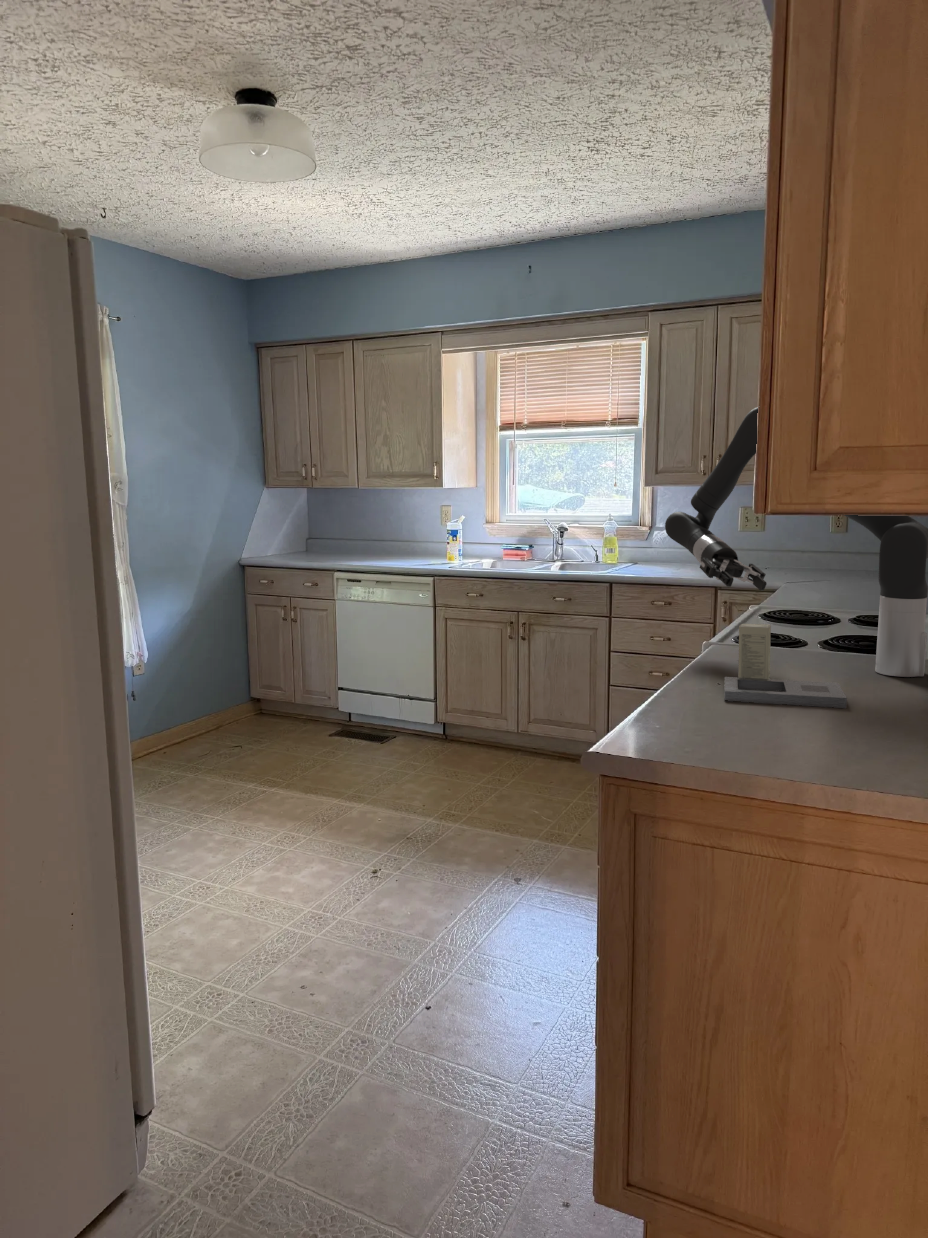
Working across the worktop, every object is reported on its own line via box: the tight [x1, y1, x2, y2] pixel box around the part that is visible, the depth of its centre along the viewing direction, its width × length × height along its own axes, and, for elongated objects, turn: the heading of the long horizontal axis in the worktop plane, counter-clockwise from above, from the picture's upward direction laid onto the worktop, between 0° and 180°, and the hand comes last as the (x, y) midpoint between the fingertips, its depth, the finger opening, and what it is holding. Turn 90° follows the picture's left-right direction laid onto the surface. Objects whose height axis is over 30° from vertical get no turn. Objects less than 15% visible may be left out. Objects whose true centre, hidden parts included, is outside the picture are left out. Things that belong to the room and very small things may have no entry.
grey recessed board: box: [723, 676, 848, 709], centre depth 168 cm, size 22×13×2 cm, turn 73°
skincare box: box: [737, 623, 772, 679], centre depth 181 cm, size 6×4×12 cm
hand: (747, 585), depth 188 cm, fingers open, 8 cm apart
